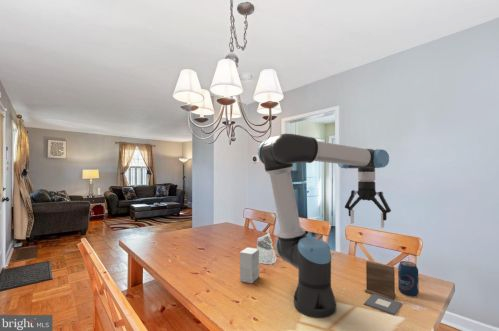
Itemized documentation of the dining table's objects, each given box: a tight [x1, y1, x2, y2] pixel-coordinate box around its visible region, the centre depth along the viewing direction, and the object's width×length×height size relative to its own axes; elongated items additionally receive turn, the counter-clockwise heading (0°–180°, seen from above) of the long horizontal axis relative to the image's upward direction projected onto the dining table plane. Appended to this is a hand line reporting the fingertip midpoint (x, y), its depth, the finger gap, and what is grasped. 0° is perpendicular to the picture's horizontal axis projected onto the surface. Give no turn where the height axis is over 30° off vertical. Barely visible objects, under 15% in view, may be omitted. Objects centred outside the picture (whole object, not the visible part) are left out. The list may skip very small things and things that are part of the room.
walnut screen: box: [364, 260, 397, 300], centre depth 99 cm, size 5×10×12 cm, turn 47°
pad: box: [363, 294, 403, 316], centre depth 91 cm, size 10×10×1 cm
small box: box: [239, 247, 260, 284], centre depth 113 cm, size 8×6×13 cm
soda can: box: [397, 260, 420, 298], centre depth 100 cm, size 7×7×12 cm
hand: (366, 225), depth 118 cm, fingers open, 13 cm apart
